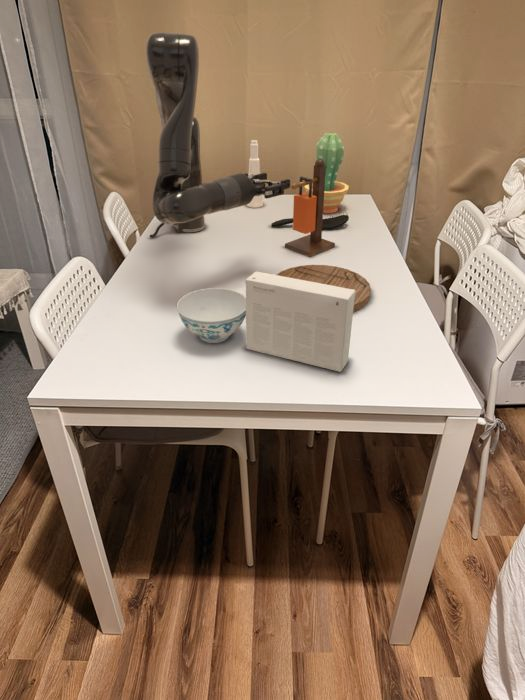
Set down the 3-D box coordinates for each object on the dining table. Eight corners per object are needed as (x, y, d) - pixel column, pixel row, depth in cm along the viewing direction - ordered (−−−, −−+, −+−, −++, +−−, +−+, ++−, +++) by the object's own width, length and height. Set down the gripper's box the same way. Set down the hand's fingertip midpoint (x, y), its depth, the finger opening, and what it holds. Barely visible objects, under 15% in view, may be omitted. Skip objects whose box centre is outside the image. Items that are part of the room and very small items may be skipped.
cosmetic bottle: (242, 205, 193) (241, 140, 181) (253, 201, 196) (253, 137, 185) (255, 208, 189) (255, 143, 177) (266, 204, 193) (266, 140, 181)
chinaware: (222, 361, 109) (220, 328, 105) (165, 340, 116) (161, 309, 112) (261, 329, 120) (261, 298, 115) (207, 312, 126) (205, 282, 122)
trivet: (293, 264, 149) (293, 258, 148) (381, 282, 140) (382, 275, 139) (252, 302, 130) (252, 295, 129) (351, 325, 121) (352, 318, 120)
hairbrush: (270, 213, 176) (346, 209, 176) (271, 224, 178) (346, 220, 178) (271, 222, 170) (350, 217, 169) (272, 233, 172) (350, 228, 172)
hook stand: (302, 260, 152) (306, 169, 138) (277, 250, 158) (278, 162, 144) (334, 246, 160) (341, 160, 146) (309, 237, 166) (313, 153, 152)
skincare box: (349, 359, 110) (357, 289, 101) (341, 373, 106) (348, 301, 97) (256, 336, 117) (255, 269, 108) (244, 348, 113) (243, 280, 104)
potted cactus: (352, 205, 192) (359, 131, 179) (339, 218, 181) (346, 140, 167) (311, 200, 198) (315, 127, 184) (296, 212, 186) (299, 136, 172)
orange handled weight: (305, 234, 152) (307, 181, 144) (292, 229, 155) (294, 177, 147) (314, 230, 154) (317, 178, 146) (302, 226, 158) (304, 174, 149)
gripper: (249, 182, 124) (298, 170, 133) (210, 171, 132) (258, 160, 142) (250, 214, 128) (297, 200, 137) (212, 201, 136) (258, 188, 146)
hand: (277, 180), depth 139 cm, fingers open, 8 cm apart
